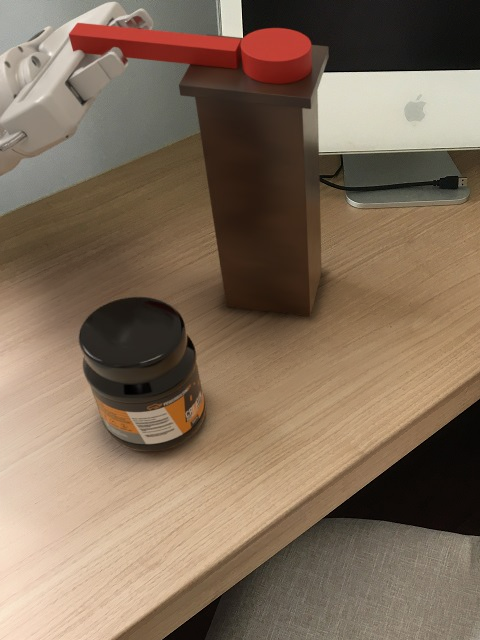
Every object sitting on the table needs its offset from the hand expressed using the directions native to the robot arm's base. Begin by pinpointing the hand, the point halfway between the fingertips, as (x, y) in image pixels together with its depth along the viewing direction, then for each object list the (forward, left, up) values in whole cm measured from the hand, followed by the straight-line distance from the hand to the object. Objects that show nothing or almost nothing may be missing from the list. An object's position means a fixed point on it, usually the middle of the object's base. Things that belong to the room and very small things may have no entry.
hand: (134, 38), depth 72 cm
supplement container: (-6, -21, -27) cm, 35 cm away
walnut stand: (+10, -5, -27) cm, 29 cm away
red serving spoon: (+5, -2, -1) cm, 5 cm away
